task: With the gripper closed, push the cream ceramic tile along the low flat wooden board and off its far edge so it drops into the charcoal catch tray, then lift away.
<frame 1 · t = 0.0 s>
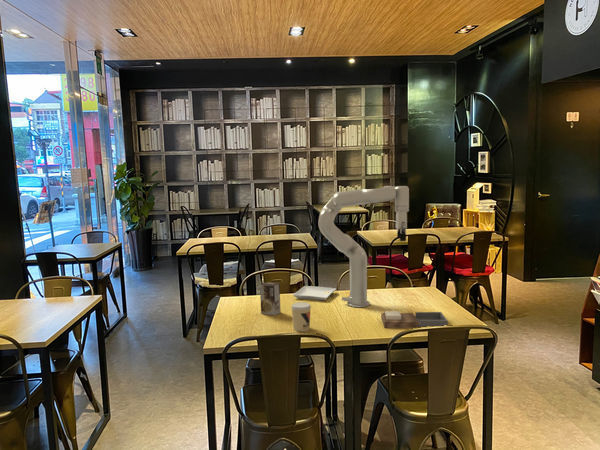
hand: (401, 239, 263), 37 cm above the table, tool pointing down, fingers open, 9 cm apart
coffee box: (270, 313, 257), on the table
salad plate: (315, 296, 289), on the table
flat wooden board: (399, 323, 236), on the table
tray: (430, 323, 235), on the table
coffee cup: (301, 329, 231), on the table
tile: (393, 317, 236), point 3 cm above the table, touching flat wooden board
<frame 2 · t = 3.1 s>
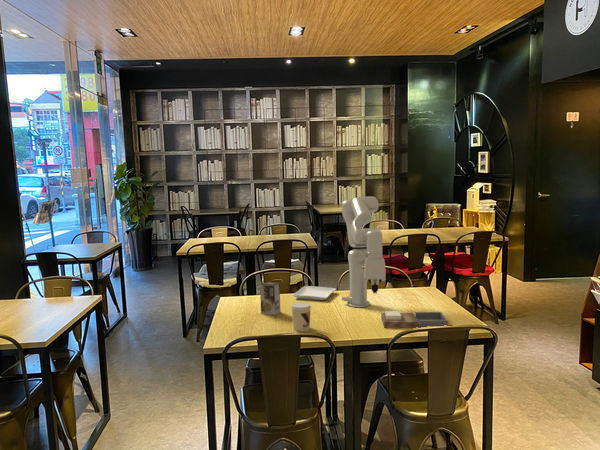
hand: (374, 292, 235), 16 cm above the table, tool pointing down, fingers closed
nothing on the table moved.
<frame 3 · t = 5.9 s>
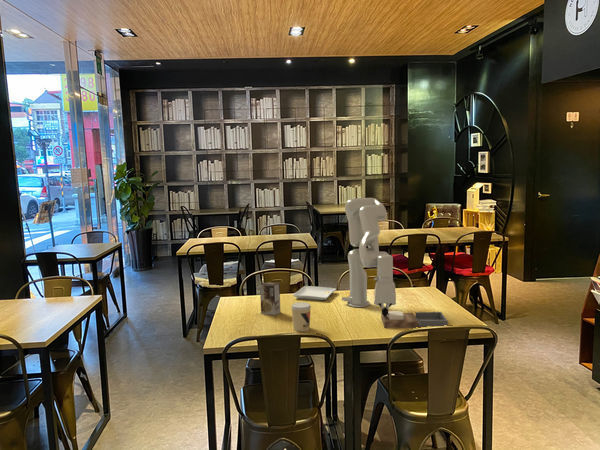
hand: (385, 315, 236), 4 cm above the table, tool pointing down, fingers closed
tile: (395, 317, 236), point 3 cm above the table, touching flat wooden board, gripper
everything else where it was.
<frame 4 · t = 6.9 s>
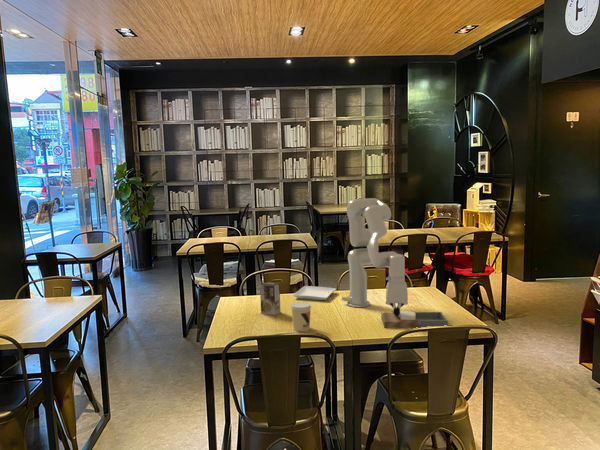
hand: (396, 315, 236), 4 cm above the table, tool pointing down, fingers closed
tile: (407, 317, 235), point 3 cm above the table, touching gripper
everything else where it was.
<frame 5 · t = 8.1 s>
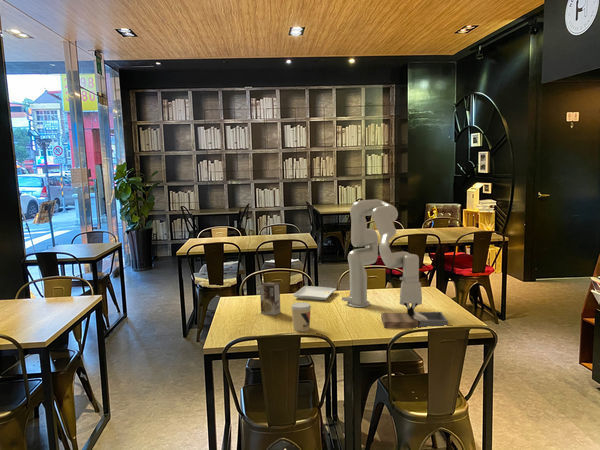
hand: (410, 315, 235), 4 cm above the table, tool pointing down, fingers closed
tile: (419, 319, 235), point 2 cm above the table, tilted 28°, touching gripper, tray
everything else where it was.
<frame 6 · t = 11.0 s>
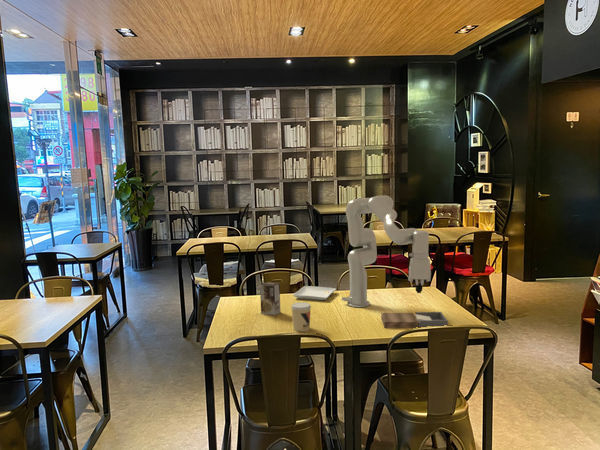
hand: (418, 292, 234), 15 cm above the table, tool pointing down, fingers closed
tile: (423, 321, 235), point 1 cm above the table, tilted 10°, touching tray
everything else where it was.
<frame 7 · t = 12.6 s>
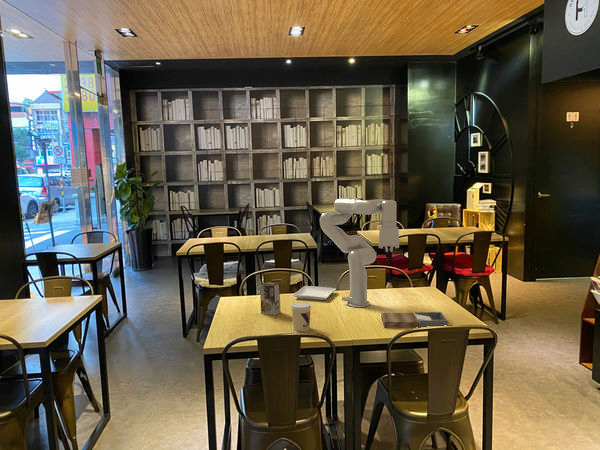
hand: (388, 258, 250), 29 cm above the table, tool pointing down, fingers closed
nothing on the table moved.
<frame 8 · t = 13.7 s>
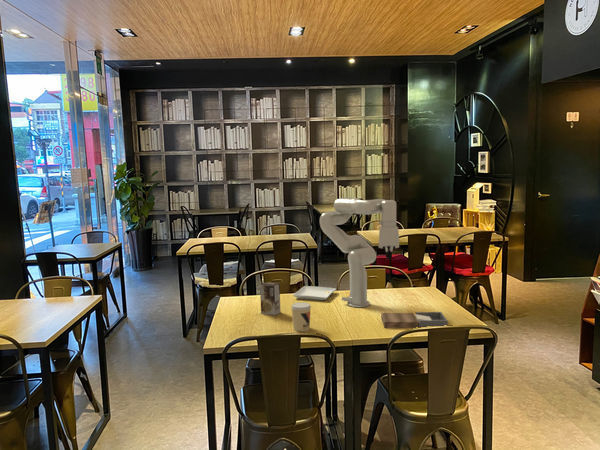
hand: (388, 258, 250), 29 cm above the table, tool pointing down, fingers closed
nothing on the table moved.
at the end: tile inside the target area on the tray (3.7 cm from its centre), point 1.1 cm above the tray's base; tile touching tray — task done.
